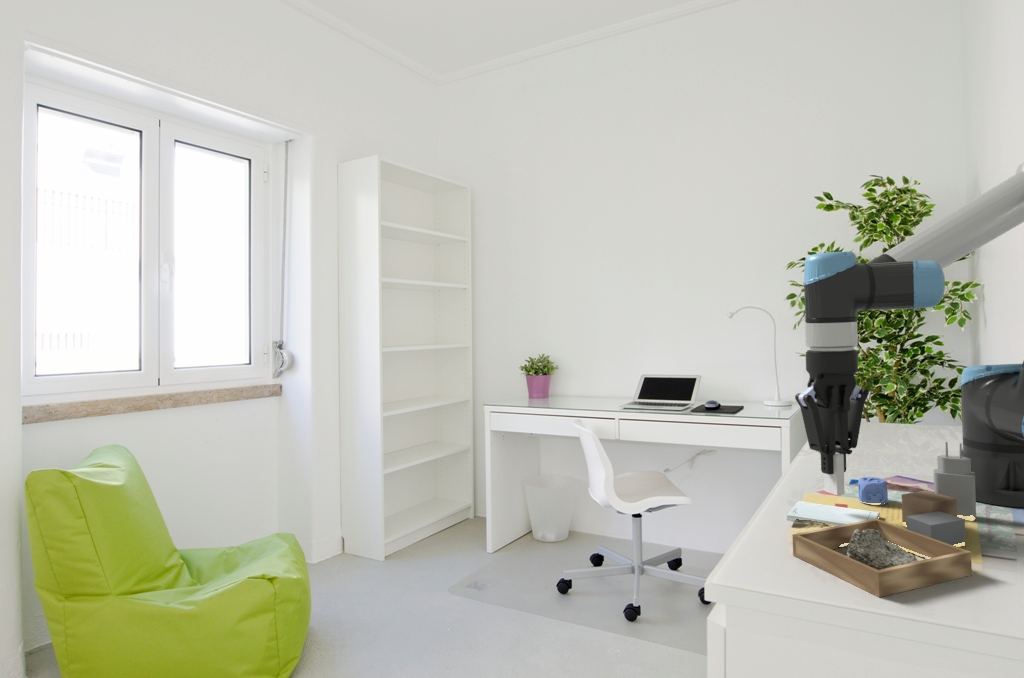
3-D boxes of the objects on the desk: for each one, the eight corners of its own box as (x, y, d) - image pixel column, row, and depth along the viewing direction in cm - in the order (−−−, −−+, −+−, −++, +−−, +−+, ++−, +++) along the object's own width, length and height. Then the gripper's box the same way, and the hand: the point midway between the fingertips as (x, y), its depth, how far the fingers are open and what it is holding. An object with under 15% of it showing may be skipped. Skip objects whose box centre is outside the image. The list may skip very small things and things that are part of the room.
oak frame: (876, 538, 93) (875, 518, 93) (971, 575, 80) (971, 551, 80) (793, 555, 89) (792, 534, 89) (879, 597, 75) (878, 572, 75)
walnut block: (926, 521, 99) (925, 490, 99) (957, 531, 95) (956, 498, 94) (902, 525, 98) (901, 494, 98) (932, 536, 93) (931, 503, 93)
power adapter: (935, 511, 103) (933, 439, 103) (976, 516, 100) (974, 442, 100) (934, 516, 101) (932, 443, 100) (976, 521, 98) (974, 446, 97)
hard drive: (786, 514, 103) (872, 526, 95) (798, 500, 109) (879, 510, 102) (786, 523, 103) (873, 536, 95) (798, 509, 109) (880, 520, 102)
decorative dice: (858, 498, 112) (857, 476, 112) (883, 499, 111) (883, 477, 110) (861, 505, 108) (860, 482, 108) (888, 506, 107) (887, 483, 107)
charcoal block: (940, 537, 93) (939, 511, 92) (965, 547, 89) (964, 519, 89) (907, 543, 91) (906, 516, 91) (931, 553, 87) (930, 525, 87)
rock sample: (929, 567, 74) (879, 504, 80) (873, 599, 77) (829, 536, 83) (954, 578, 80) (906, 520, 86) (901, 608, 83) (858, 549, 89)
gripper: (844, 345, 106) (847, 482, 107) (781, 350, 103) (784, 491, 104) (882, 347, 99) (885, 493, 100) (816, 352, 95) (819, 504, 96)
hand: (834, 492), depth 102 cm, fingers closed
